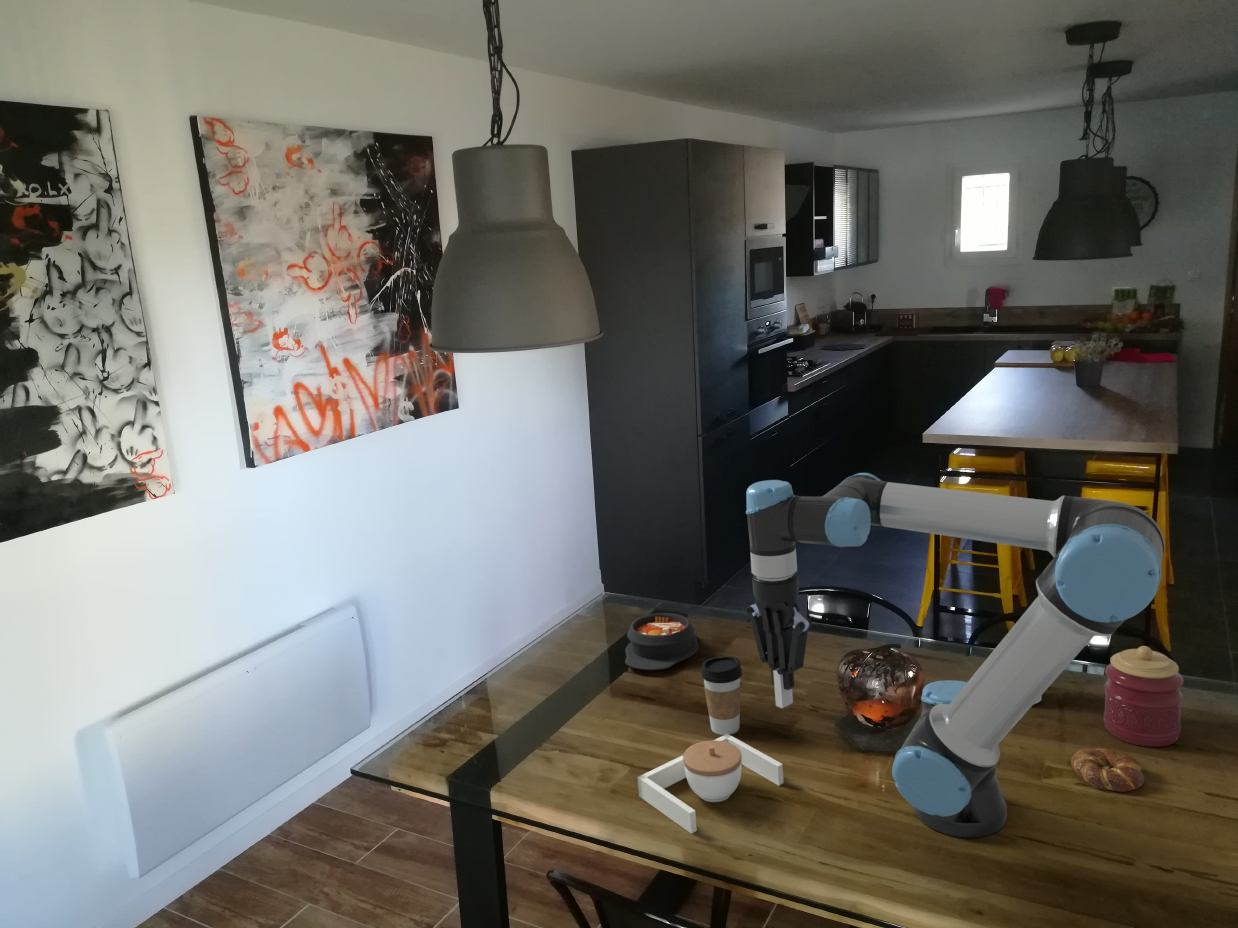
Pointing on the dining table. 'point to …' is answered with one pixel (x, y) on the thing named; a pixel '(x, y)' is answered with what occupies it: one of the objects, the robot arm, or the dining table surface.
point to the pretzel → (1107, 769)
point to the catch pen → (674, 771)
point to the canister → (1143, 698)
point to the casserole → (660, 641)
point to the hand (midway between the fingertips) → (784, 703)
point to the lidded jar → (713, 769)
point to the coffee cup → (723, 693)
